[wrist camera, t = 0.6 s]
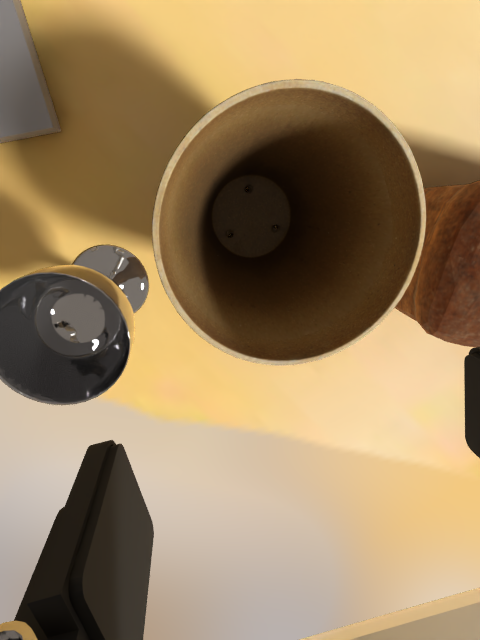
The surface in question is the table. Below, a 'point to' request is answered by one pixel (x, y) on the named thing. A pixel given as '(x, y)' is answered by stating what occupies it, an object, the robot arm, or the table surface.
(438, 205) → the bread
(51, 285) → the wine glass
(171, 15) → the table surface
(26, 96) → the console
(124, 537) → the robot arm
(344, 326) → the plant pot
